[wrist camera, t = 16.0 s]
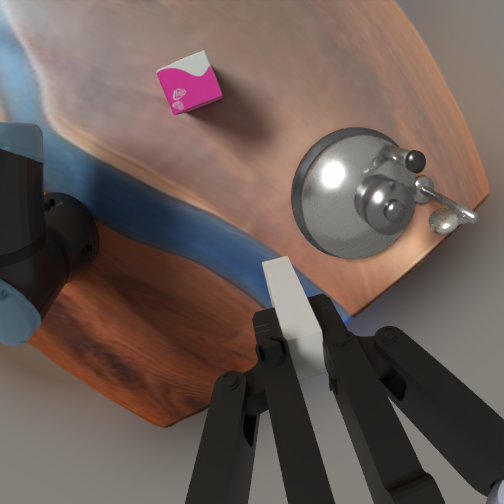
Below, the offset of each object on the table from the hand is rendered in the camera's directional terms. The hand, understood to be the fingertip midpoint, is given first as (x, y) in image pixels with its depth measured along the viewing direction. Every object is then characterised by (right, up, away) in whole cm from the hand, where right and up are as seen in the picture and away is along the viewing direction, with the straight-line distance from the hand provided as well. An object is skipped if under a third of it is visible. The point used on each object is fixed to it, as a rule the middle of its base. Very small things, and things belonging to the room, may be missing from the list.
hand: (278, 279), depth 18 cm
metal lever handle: (+27, +12, +31) cm, 42 cm away
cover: (+18, +10, +27) cm, 34 cm away
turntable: (+15, +10, +28) cm, 34 cm away
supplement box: (-9, +24, +20) cm, 33 cm away
